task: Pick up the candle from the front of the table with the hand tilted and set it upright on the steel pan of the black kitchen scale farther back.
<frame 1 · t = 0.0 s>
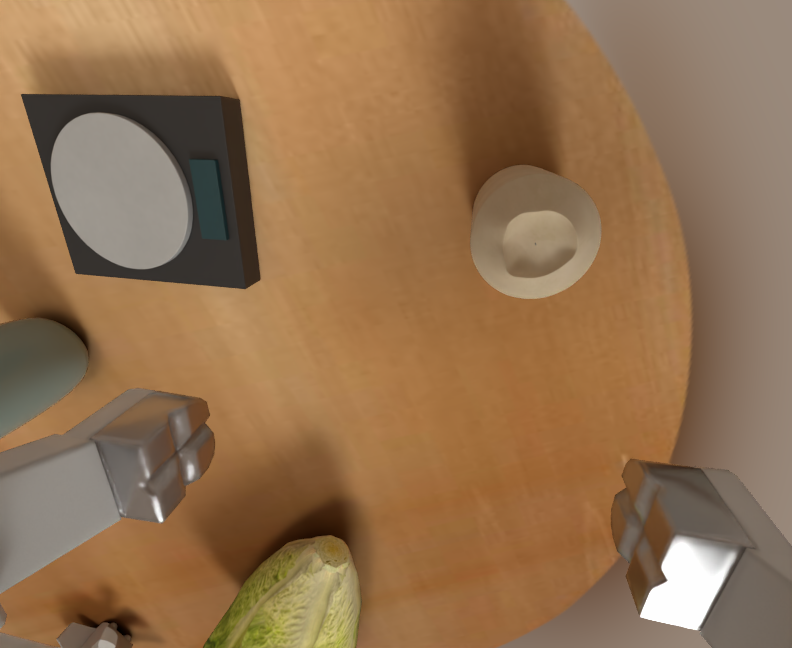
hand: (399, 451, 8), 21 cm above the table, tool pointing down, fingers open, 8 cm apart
candle: (517, 210, 26), on the table
lettuce: (319, 567, 44), on the table
scale: (161, 192, 30), on the table
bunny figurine: (115, 630, 58), on the table
cup: (67, 345, 38), on the table
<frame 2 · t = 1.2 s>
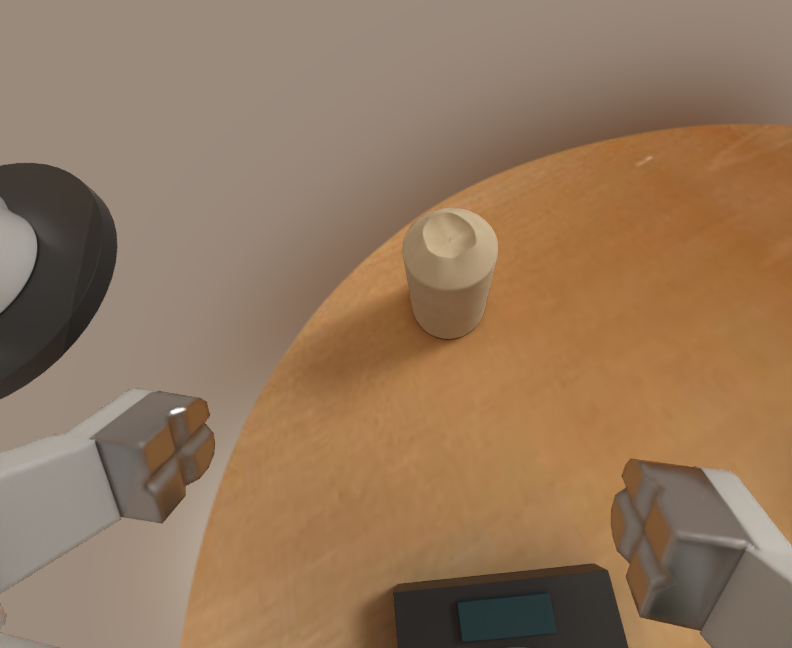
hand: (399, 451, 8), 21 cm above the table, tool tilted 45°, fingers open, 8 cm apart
candle: (448, 307, 32), on the table
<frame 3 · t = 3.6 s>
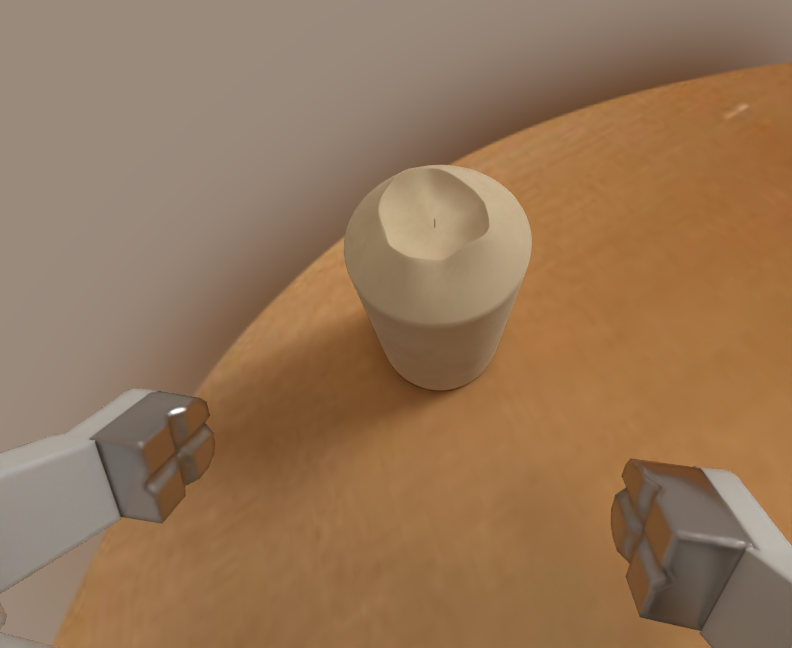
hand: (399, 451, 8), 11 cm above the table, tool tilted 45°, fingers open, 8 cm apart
candle: (439, 337, 20), on the table
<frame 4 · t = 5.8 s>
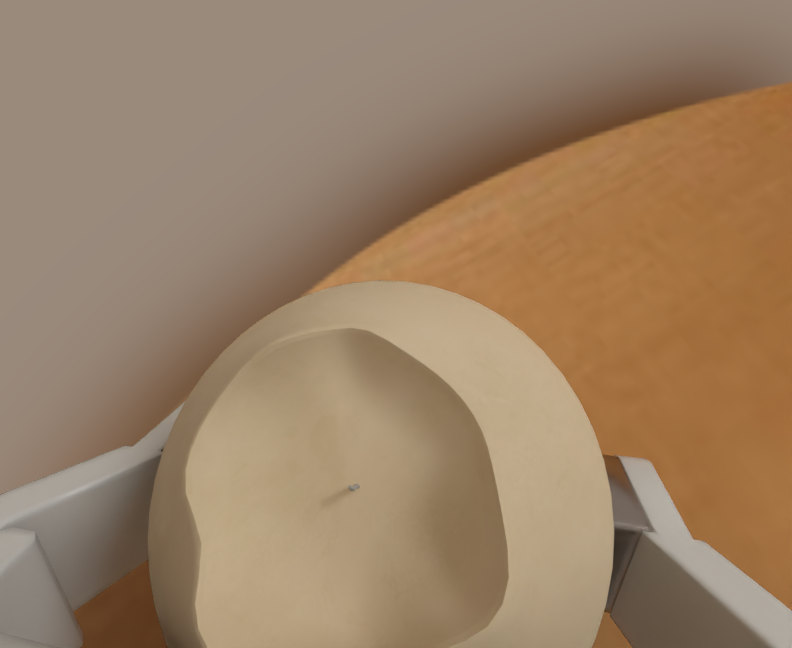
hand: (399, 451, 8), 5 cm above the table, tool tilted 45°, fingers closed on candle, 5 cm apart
candle: (416, 486, 13), on the table, touching gripper
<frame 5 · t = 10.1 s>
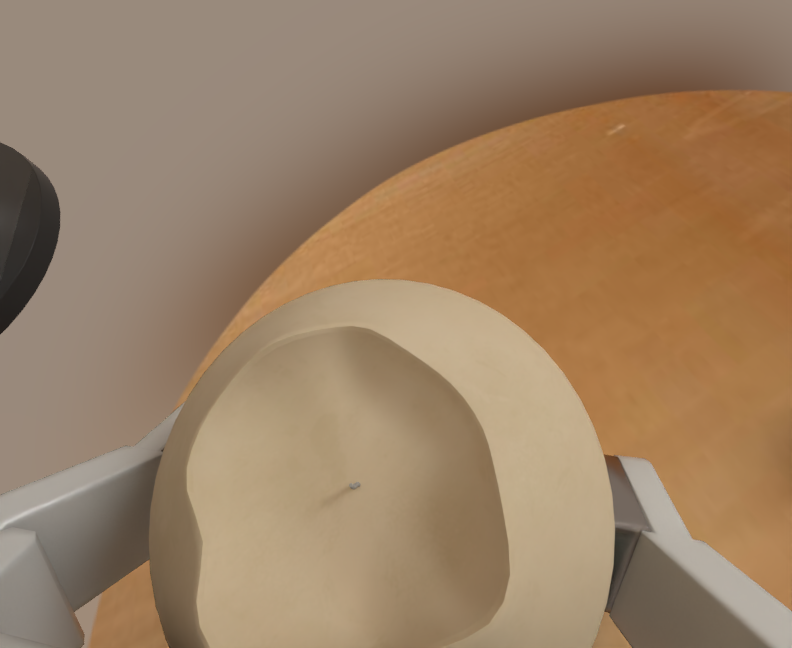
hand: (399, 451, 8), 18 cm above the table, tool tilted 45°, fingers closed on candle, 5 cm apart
candle: (416, 485, 13), point 12 cm above the table, touching gripper
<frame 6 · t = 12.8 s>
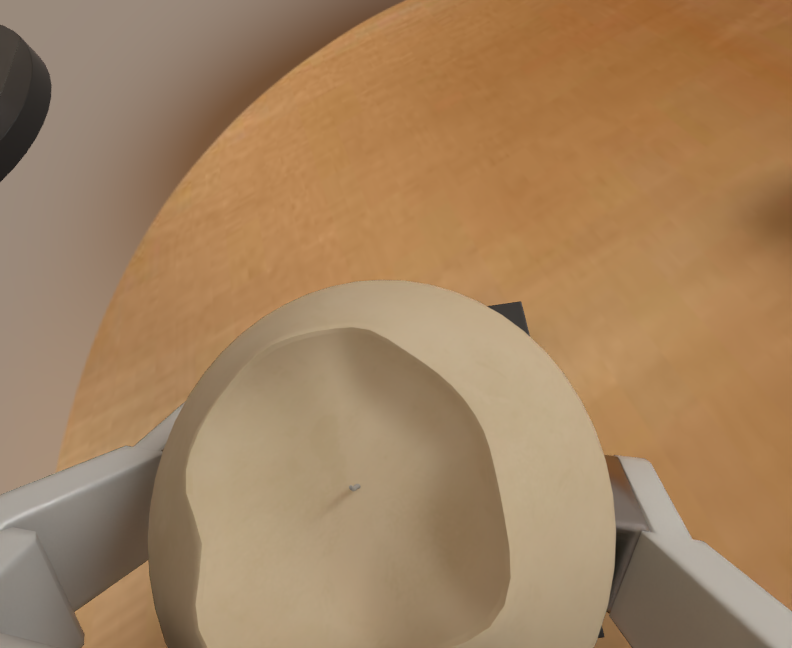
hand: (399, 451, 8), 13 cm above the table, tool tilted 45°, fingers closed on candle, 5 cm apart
candle: (416, 486, 13), point 8 cm above the table, touching gripper
scale: (423, 463, 20), on the table
when the fingers open (8 cm above the table, at t = 14.7 s): candle stays where it is, resting on scale.
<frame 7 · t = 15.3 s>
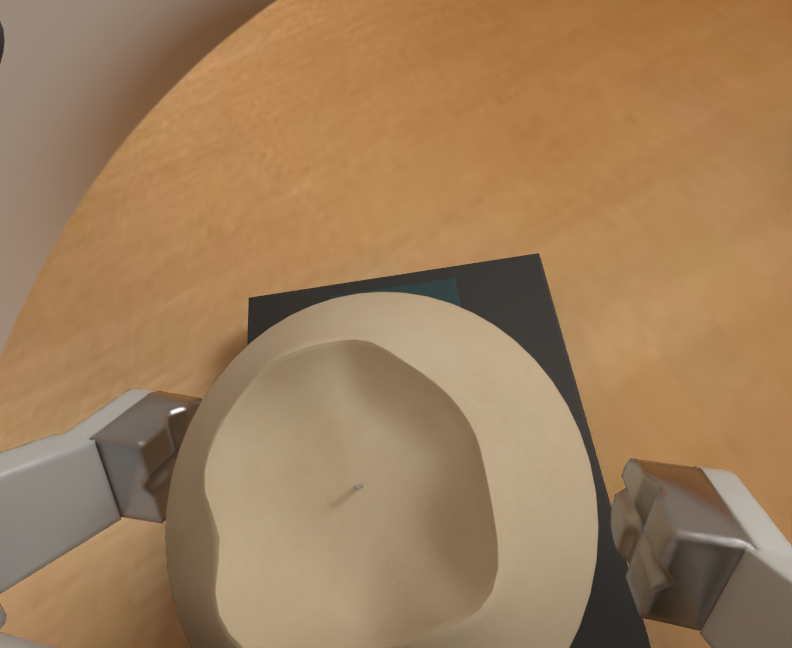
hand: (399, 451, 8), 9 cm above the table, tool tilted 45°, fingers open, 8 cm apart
candle: (415, 485, 13), point 3 cm above the table, touching scale
scale: (416, 458, 16), on the table
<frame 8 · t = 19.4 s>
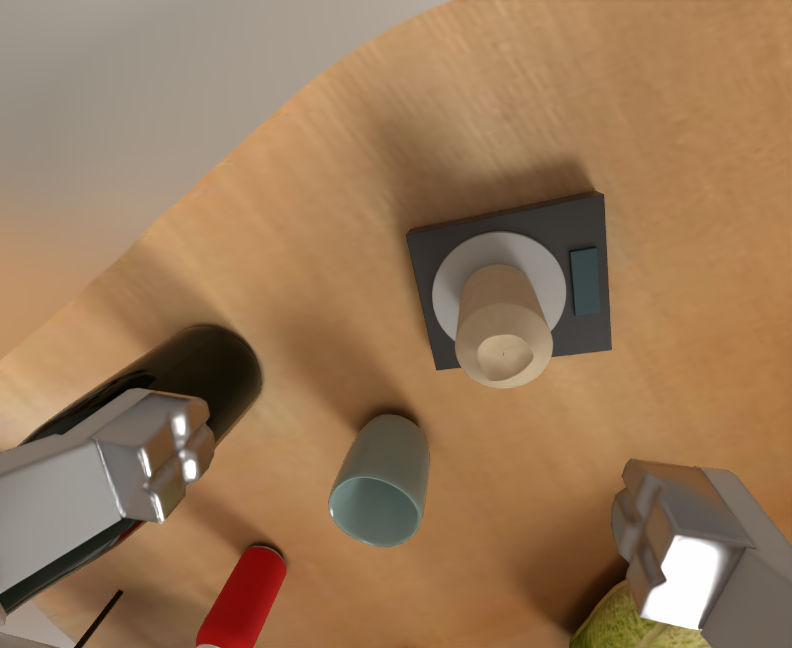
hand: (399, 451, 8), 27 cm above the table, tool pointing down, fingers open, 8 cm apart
candle: (496, 297, 32), point 3 cm above the table, touching scale
dark wine bottle: (219, 367, 43), on the table
beverage can: (268, 556, 54), on the table
lettuce: (646, 594, 45), on the table
scale: (508, 284, 34), on the table
planter: (197, 627, 65), on the table
cup: (396, 433, 42), on the table
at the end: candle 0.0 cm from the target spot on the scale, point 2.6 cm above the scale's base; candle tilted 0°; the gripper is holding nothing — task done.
